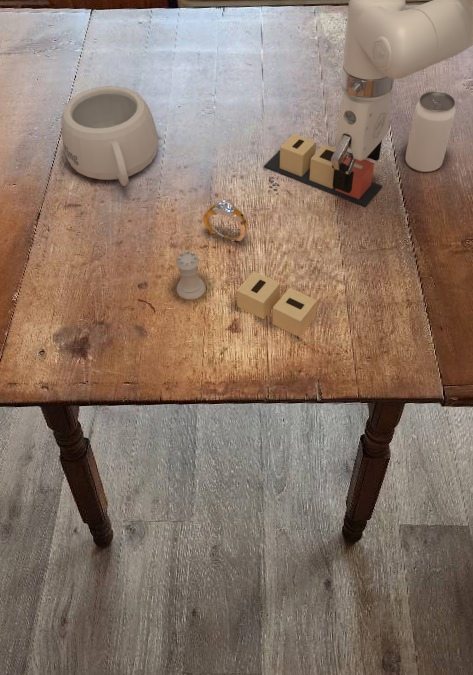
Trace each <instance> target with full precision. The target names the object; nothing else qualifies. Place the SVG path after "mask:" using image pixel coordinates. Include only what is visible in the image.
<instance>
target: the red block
mask: <svg viewBox="0 0 473 675" xmlns="http://www.w3.org/2000/svg"><path fill="white" fill-rule="evenodd" d="M350 158H351V157H348V156H347V159H346V160H345V161H344V162H343V163H344V164H346V165H347V166H348V164H349V161H350ZM374 170H375V162H372V161H370V160H367V159H366V158H365V159H364V160H361V161H359V160H357V159H356V161H355V164H354V166H353V169H352V171H353V172H354V175H353V184H352V191H351V192H350V193H347V192H344V191H341V190H339V189H336V188H335V190H336V191H339V192H341V193H344V194H346V195H349V196H351V197H354V198H356V199H360V197H361V196H362V195H363V194H364V193H365V191H366V190H367V189H368V188H369V187H370V185H371V182H373V175H374Z"/></svg>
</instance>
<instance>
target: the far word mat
mask: <svg viewBox="0 0 473 675" xmlns="http://www.w3.org/2000/svg"><path fill="white" fill-rule="evenodd" d="M316 148H317V141H316V140H313V139H310V138H308V137H304V136H302V135H299V134H297V133H293V134H292V135H291V136H289V138H288V139H286V140H285V141H284V143H283V144H282V145H281V146H280V147H279V150H278V151H277V152H276V153H275V154H274V155H273V156H272V157H270V159H269V160H268V161H267V162H266V163H265V164H264V165H263V168H265V169H267V170H270V171H272V172H274V173H277V174H280V175H282V176H285V177H287V178H290V179H293V180H295V181H297V182H299V183H302V184H304V185H305V184H306V185H308V186H311V187H313V188H315V189H318V190H321V191H323V192H326V193H329V194H331V195H333V196H336V197H338V198H340V199H343V200H345V201H347V202H350V203H352V204H353V203H354V204H356V205H358V206H361V207H363V208H367V206H369V205H370V203H371V202H372V201H373V199H375V197H376V196H377V194H378V193H379V192H380V191H381V189H383V185H381V184H380V183H376V182H374V181H372V182H371V185H370V187H369V188H368V189H367V190H366V191H365V193H364V194H363V195H362V196H361V197H360V199H356V198H354V197H351V196H349V195H346V194H344V193H341V192H339V191H336V190H335V188H334V187H333V176H334V169H333V168H332V162H331V157H332V155H333V154H334V152H335V150H336V147H332V146H329V145H327V144H323V145H322V146H321V147H320V148H319V149H318V150H317V151H316ZM347 158H348V156H346V155H344V157H343V162H344V161H345V160H346V159H347Z"/></svg>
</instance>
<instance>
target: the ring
mask: <svg viewBox="0 0 473 675" xmlns="http://www.w3.org/2000/svg"><path fill="white" fill-rule="evenodd" d="M234 204H235V203H233V201H231V200H228V199H226V198H223V199H222V200H218V201H215V202H213V203H211V204H210V205H209V207H208V208H207V209H206V212H204V215H203V216H202V220H203V221H202V222H203V224H204V226H205V228H206V229H207V231H208V232H209V233H211V234H213V235H218V236H220V237H223V238H224V239H227V240H230V241H232V242H233V243H236V244H238V243H240V242H241V241H242V240H243V239H244V238H245V236H246V235H247V231H248V224H247V219H246V217H245V215H244V214H243V213H242V212H241V210H240V209H239V208H237V207H236V206H235V205H234ZM216 215H220V216H225V217H229V218H231V219H233V220H234V221H235V222H236V223H237V225H238V226H239V229H240V233H239V234H240V235H238V236H237V237H230V236H229V235H226V234H225V235H224V234H222V233H221V232H219V231H218V230H217V229H216V228H215V226H214V225H213V224H212V221H211V217H212V216H216Z"/></svg>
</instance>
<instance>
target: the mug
mask: <svg viewBox="0 0 473 675" xmlns="http://www.w3.org/2000/svg"><path fill="white" fill-rule="evenodd" d="M61 141H62V147H63V152H64V154H65V157H66V158H67V161H68V162H69V164H70V166H71V168H73V170H75V171H76V172H77V173H79V174H81V175H82V176H84V177H88V178H91V179H95V180H101V181H113V180H118V181H119V183H120V185H121V186H123V187H126V186H127V185H129V181H130V180H129V177H131V176H133V175H136V174H137V173H139V172H141V171H142V170H144V169H145V168H146V167H147V166H149V165H150V164H151V163H152V162H153V160H154V159H155V157H156V155H157V152H158V147H159V137H158V131H157V127H156V123H155V120H154V117H153V114H152V112H151V110H150V107H149V105H148V104H147V102H146V101H145V99H144V98H143V97H142V96H141V95H140V94H139V93H138V92H136V91H135V90H132V89H130V88H128V87H124V86H116V85H105V86H97V87H94V88H90V89H86V90H84V91H82V92H80V93H77V94H76V95H74V96H73V97H71V98H70V100H69V101H68V102H67V103H66V105H65V106H64V109H63V112H62V114H61Z"/></svg>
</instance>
